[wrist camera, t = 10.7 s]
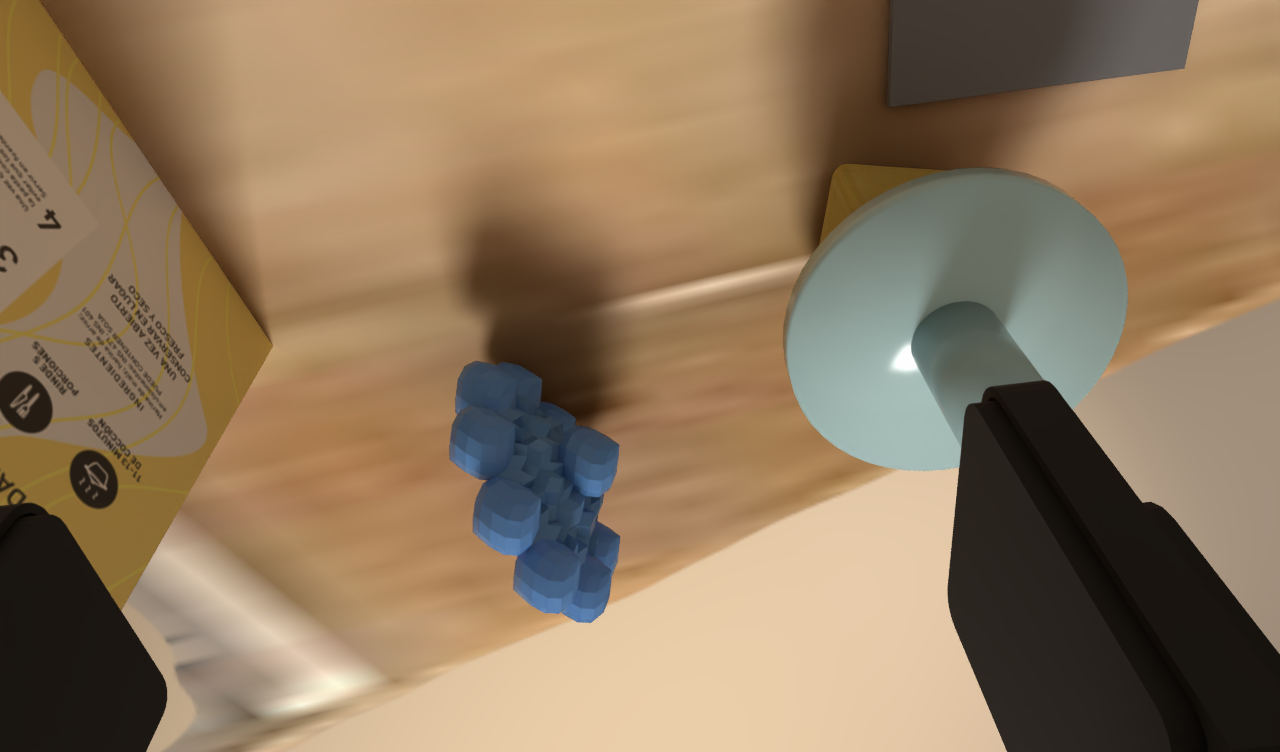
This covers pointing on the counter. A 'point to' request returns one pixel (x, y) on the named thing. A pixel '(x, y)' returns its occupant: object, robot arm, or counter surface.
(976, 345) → the lid
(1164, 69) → the mat
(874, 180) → the flower pot
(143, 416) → the pasta box
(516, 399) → the grapes
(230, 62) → the counter surface
